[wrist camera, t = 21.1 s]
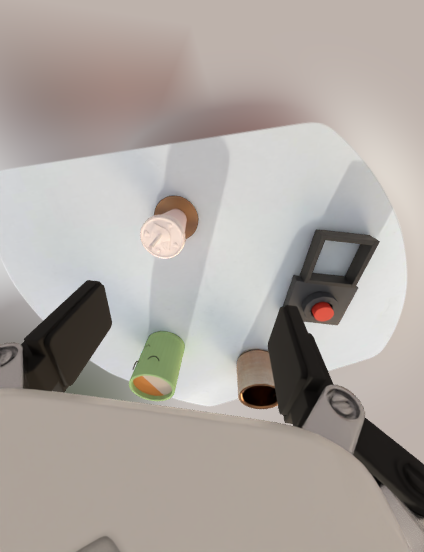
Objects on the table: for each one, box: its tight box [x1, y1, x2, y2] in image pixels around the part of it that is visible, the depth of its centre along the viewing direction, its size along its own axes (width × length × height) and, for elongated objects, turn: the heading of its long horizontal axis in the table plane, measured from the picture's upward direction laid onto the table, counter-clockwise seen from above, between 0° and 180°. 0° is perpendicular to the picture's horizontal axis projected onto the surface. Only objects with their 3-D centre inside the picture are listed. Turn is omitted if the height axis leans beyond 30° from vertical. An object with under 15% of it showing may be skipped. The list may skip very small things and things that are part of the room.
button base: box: [283, 275, 358, 325], centre depth 44 cm, size 10×12×4 cm
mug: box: [129, 331, 185, 401], centre depth 52 cm, size 13×10×12 cm
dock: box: [300, 230, 380, 288], centre depth 39 cm, size 10×10×3 cm
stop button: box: [311, 302, 334, 321], centre depth 42 cm, size 4×4×2 cm
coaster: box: [154, 196, 198, 239], centre depth 38 cm, size 8×8×1 cm
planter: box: [237, 350, 278, 409], centre depth 54 cm, size 11×11×10 cm
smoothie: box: [140, 209, 187, 258], centre depth 32 cm, size 6×6×14 cm
